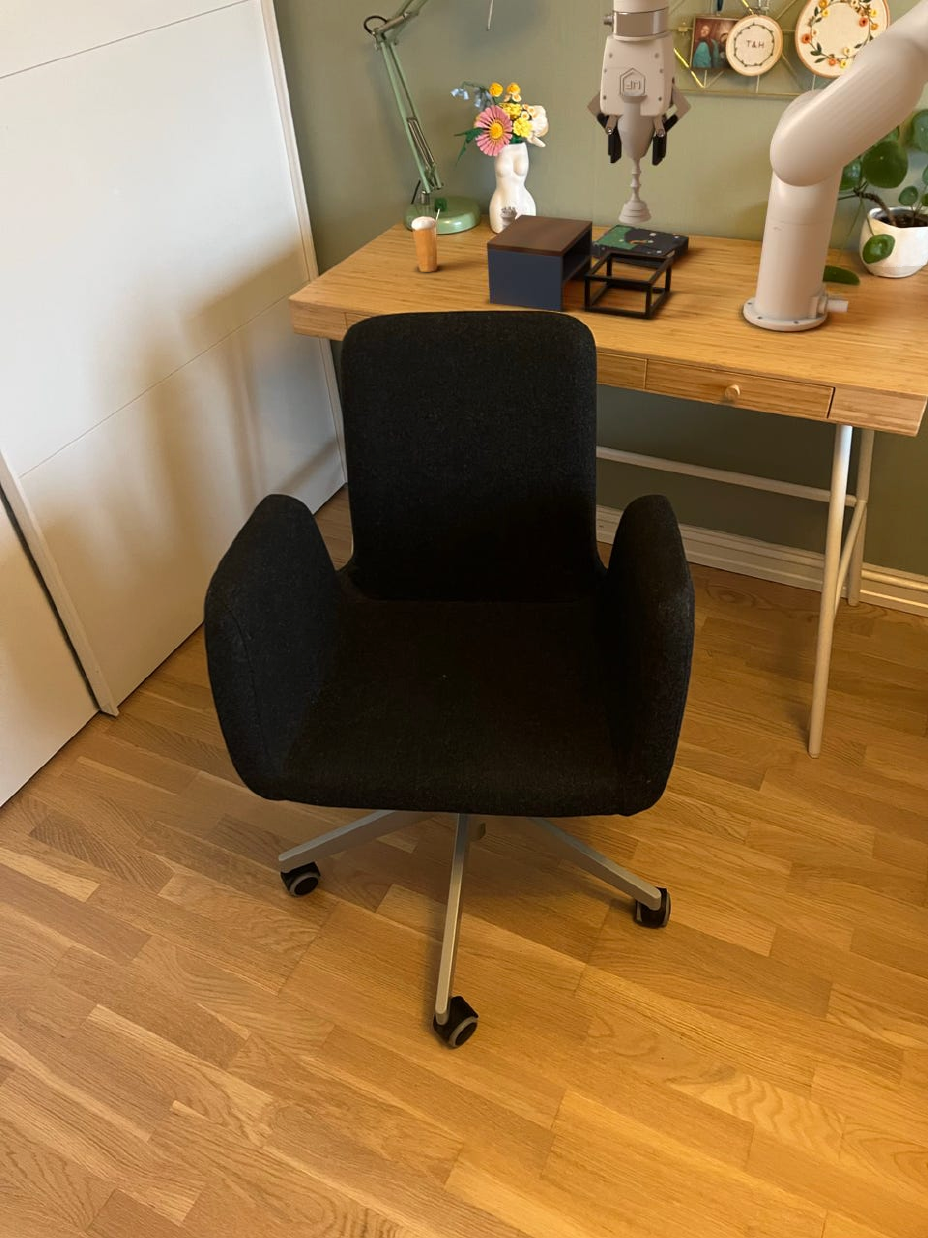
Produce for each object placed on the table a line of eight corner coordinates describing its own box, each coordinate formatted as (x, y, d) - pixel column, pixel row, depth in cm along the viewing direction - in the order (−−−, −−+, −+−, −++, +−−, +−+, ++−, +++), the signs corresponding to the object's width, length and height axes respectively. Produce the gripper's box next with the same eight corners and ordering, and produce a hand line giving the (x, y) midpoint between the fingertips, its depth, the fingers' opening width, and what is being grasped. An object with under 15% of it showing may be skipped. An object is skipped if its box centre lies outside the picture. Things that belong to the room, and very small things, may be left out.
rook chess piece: (516, 246, 182) (514, 202, 176) (525, 254, 178) (524, 209, 173) (494, 251, 181) (492, 207, 175) (503, 259, 177) (501, 214, 172)
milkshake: (448, 269, 175) (444, 212, 169) (421, 275, 174) (415, 218, 168) (439, 261, 179) (435, 205, 172) (412, 267, 177) (406, 211, 171)
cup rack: (670, 292, 161) (672, 257, 157) (649, 319, 154) (651, 283, 150) (607, 285, 165) (608, 250, 161) (583, 311, 158) (584, 275, 154)
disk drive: (688, 251, 174) (616, 238, 181) (690, 235, 172) (617, 222, 179) (662, 271, 168) (588, 256, 175) (663, 255, 166) (589, 241, 173)
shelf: (591, 279, 167) (592, 220, 161) (561, 312, 158) (560, 251, 152) (523, 271, 172) (521, 214, 166) (489, 302, 163) (486, 242, 157)
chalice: (655, 225, 147) (661, 94, 135) (610, 226, 148) (612, 97, 137) (658, 209, 152) (663, 82, 141) (614, 210, 154) (616, 84, 142)
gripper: (572, 29, 134) (573, 166, 146) (694, 28, 127) (685, 172, 139) (591, 18, 139) (591, 151, 151) (709, 17, 132) (699, 157, 144)
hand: (636, 160), depth 145 cm, fingers closed on chalice, 5 cm apart
